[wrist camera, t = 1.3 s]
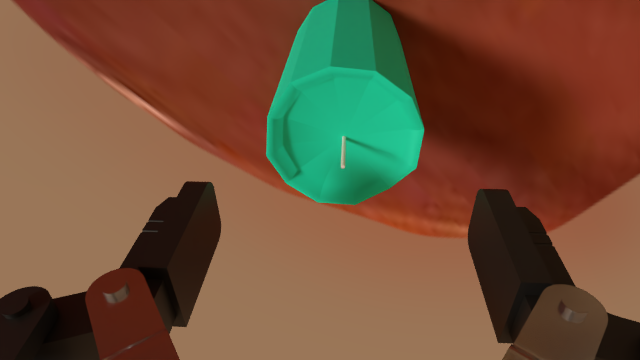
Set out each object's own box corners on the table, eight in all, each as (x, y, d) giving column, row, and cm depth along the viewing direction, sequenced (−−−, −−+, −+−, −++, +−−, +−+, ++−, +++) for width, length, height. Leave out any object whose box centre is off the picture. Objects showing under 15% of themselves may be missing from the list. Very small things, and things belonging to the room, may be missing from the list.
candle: (307, 103, 27) (280, 237, 17) (284, 4, 23) (234, 100, 13) (404, 89, 26) (434, 222, 16) (395, -17, 22) (427, 71, 12)
